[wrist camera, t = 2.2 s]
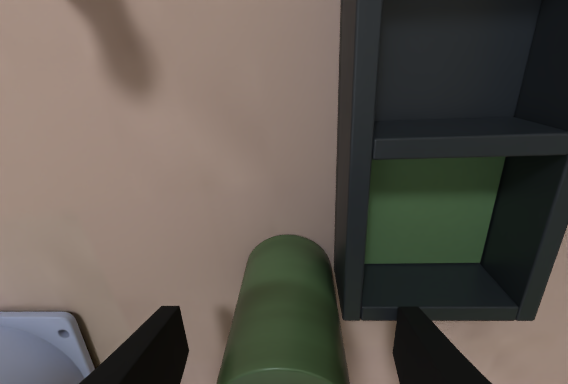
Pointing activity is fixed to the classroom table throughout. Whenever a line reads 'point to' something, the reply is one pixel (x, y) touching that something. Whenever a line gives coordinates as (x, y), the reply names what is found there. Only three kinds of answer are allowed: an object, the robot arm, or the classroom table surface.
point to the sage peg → (286, 319)
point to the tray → (450, 157)
